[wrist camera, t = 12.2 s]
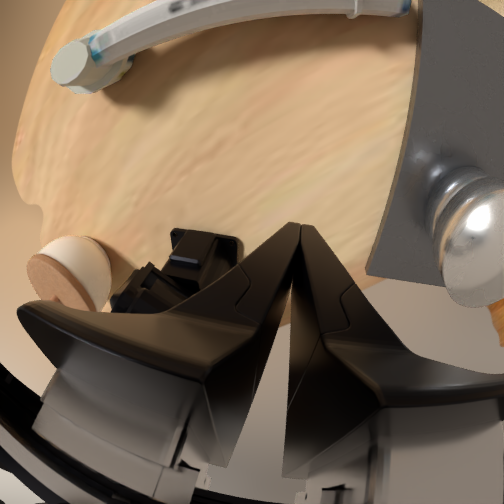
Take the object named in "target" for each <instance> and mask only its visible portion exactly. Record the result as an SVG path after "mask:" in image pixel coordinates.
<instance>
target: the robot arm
mask: <svg viewBox="0 0 504 504" xmlns="http://www.w3.org/2000/svg"><path fill="white" fill-rule="evenodd" d="M175 233H176V234H177V235H176V234H175ZM170 236H171V243H172V249H173V251H172V253H171V254H170V256H169V259H168V261H167V262H166V264H165V265H164V267H163V268H162V270H161V271H160V270H158V269H157V268H156V267H154V266H155V265H153V264H152V263H151V262H149V263H148V264H147V265H146V266H145V268H144V267H142V268H141V269H140V270H136V269H135V270H134V272H133V273H132V274H131V276H130V277H129V278H128V280H127V281H126V282H125V283H124V284H123V285H122V286H121V287H120V288H119V289H118V290H117V291H116V292H115V293H114V294H113V296H112V297H111V299H110V304H111V308H112V310H111V313H107V312H92V311H84V310H78V309H73V308H70V307H67V306H64V305H62V304H60V303H57V302H54V301H51V300H37V301H31V302H28V303H26V304H23V305H22V306H20V307H19V308H18V309H17V316H18V319H19V321H20V323H21V324H22V326H23V327H24V329H25V330H26V332H27V333H28V334H29V335H30V337H31V338H32V339H33V341H34V342H35V343H36V345H37V346H38V347H39V348H40V350H41V351H42V352H43V353H44V355H45V356H46V357H47V358H48V359H49V360H50V361H51V363H52V364H53V365H54V366H55V367H56V368H57V370H56V372H55V373H54V375H53V377H52V379H51V380H50V382H49V384H48V386H47V387H46V389H45V391H44V393H43V395H42V397H40V396H39V395H37V394H36V393H35V392H33V391H32V390H31V389H29V388H28V387H27V386H26V385H24V384H23V383H22V382H21V381H19V380H18V379H17V378H16V377H14V376H13V375H12V374H11V373H10V372H9V371H8V370H7V369H6V368H5V367H4V366H3V365H2V364H1V363H0V468H1V469H3V470H6V471H8V472H10V473H13V474H14V475H15V476H16V477H17V478H18V479H19V480H20V481H21V482H22V483H23V484H25V485H26V486H27V487H28V488H29V489H30V490H31V491H33V492H34V493H35V494H36V495H37V496H39V497H40V498H41V499H42V500H44V501H45V503H36V504H282V503H273V502H264V501H258V500H252V499H246V498H239V497H235V496H230V495H225V494H221V493H217V492H213V491H209V490H208V489H209V486H210V482H211V478H210V477H209V476H208V475H207V474H206V473H207V469H208V466H209V464H212V465H216V466H220V467H224V468H226V467H227V466H228V463H229V460H230V458H231V456H232V453H233V451H234V448H235V446H236V443H237V441H238V438H239V436H240V433H241V431H242V428H243V426H244V423H245V420H246V418H247V415H248V413H249V410H250V407H251V404H252V402H253V399H254V396H255V394H256V391H257V388H258V385H259V383H260V380H261V377H262V374H263V371H264V369H265V366H266V363H267V360H268V357H269V354H270V351H271V348H272V345H273V342H274V339H275V336H276V333H277V330H278V327H279V324H280V321H281V318H282V315H283V312H284V309H285V306H286V302H287V299H288V296H289V293H290V289H291V284H292V289H291V330H290V331H291V332H290V360H289V382H288V400H287V416H286V430H285V443H284V444H285V445H284V456H283V468H282V477H283V478H292V479H305V480H307V483H306V489H305V491H304V492H297V494H296V498H295V503H294V504H504V435H503V427H502V421H503V420H504V374H486V373H480V372H475V371H471V370H467V369H463V368H459V367H455V366H452V365H448V364H445V363H441V362H438V361H434V360H431V359H427V358H424V357H421V356H418V355H416V354H414V353H413V352H412V351H410V350H409V349H408V348H407V347H406V346H405V345H404V344H403V343H402V341H401V340H400V339H399V338H398V337H397V335H396V334H395V333H394V332H393V330H392V329H391V328H390V327H389V326H388V324H387V323H386V322H385V321H384V320H383V319H382V317H381V316H380V315H379V314H378V312H377V311H376V310H375V309H374V307H373V306H372V305H371V304H370V303H369V301H368V300H367V298H366V297H365V296H364V294H363V293H362V292H361V290H360V289H359V287H358V286H357V284H355V282H354V280H353V279H352V277H351V276H350V275H349V273H348V272H347V270H346V269H345V267H344V266H343V265H342V263H341V262H340V261H339V259H338V258H337V256H336V255H335V254H334V252H333V251H332V250H331V248H330V247H329V246H328V244H327V243H326V242H325V240H324V239H323V238H322V236H321V235H320V234H319V232H318V231H317V230H316V228H315V227H314V226H312V225H306V224H302V225H301V224H299V223H294V222H288V223H287V224H286V225H284V226H283V227H282V228H281V229H280V230H278V231H277V232H276V233H275V234H274V235H272V236H271V237H270V238H269V239H267V240H266V241H265V242H264V243H263V244H261V245H260V246H259V247H258V248H257V249H255V250H254V251H253V252H252V253H251V254H249V255H248V256H247V257H246V258H244V259H243V260H242V261H241V262H240V263H238V239H237V238H236V237H233V236H227V235H220V234H214V233H210V232H203V231H196V230H186V229H179V228H174V229H173V230H172V231H171V232H170ZM230 241H232V242H234V243H231V242H230ZM292 279H293V280H292ZM0 504H5V503H4V502H3V501H2V500H0Z"/></svg>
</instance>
